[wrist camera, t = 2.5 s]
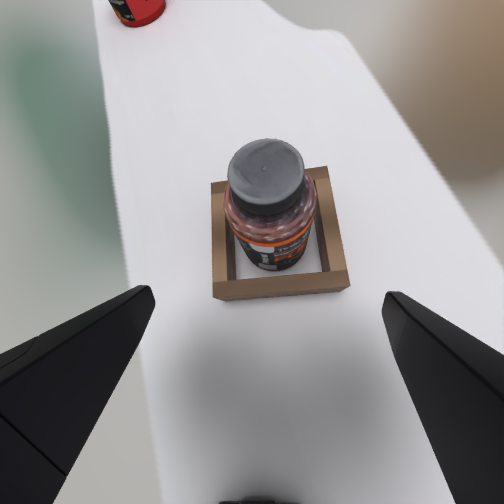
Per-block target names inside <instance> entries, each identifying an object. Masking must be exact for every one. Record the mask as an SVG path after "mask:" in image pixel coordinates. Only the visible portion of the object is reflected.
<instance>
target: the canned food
mask: <svg viewBox="0 0 504 504" xmlns="http://www.w3.org/2000/svg"><path fill="white" fill-rule="evenodd" d="M109 2H110V4H111V6H112V8H113V9H114V11H115V13H116V15H117V16H118V18H119V19H120V20H121V21H122V22H123V23H124V24H125V25H127V26H130V27H139V26H144V25H146V24H149V23H151V22H153V21H154V20H155V19H157V18H158V17H159V16H160V15H161V14H162V12H163V10H164V8H165V0H109Z"/></svg>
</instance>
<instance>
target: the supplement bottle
mask: <svg viewBox="0 0 504 504" xmlns="http://www.w3.org/2000/svg"><path fill="white" fill-rule="evenodd" d="M227 177H228V183H227V186H226V188H225V192H224V198H223V206H224V212H225V215H226V218H227V220H228V222H229V224H230V226H231V228H232V230H233V232H234V234H235V235H236V237H237V239H238V241H239V242H240V244H241V246H242V248H243V249H244V251H245V253H246V255H247V256H248V258H249V259H250V260H251V261H252V262H253V263H254V264H255V265H257V266H258V267H260V268H263V269H265V270H270V271H279V270H283V269H286V268H288V267H290V266H292V265H293V264H295V263H296V262H297V261H298V260H299V259H300V258H301V256H302V254H303V253H304V250H305V248H306V244H307V240H308V237H309V232H310V229H311V225H312V221H313V218H314V214H315V209H316V204H317V193H316V189H315V185H314V182H313V180H312V178H311V177H310V175H309V174H308V173H307V172H306V170H305V169H304V163H303V159H302V157H301V155H300V153H299V152H298V151H297V150H296V149H295V148H294V147H293V146H292V145H290V144H288V143H287V142H284V141H282V140H278V139H268V138H267V139H260V140H256V141H253V142H250V143H248V144H246V145H245V146H243V147H242V148H241V149H239V150H238V151H237V152H236V153H235V155H234V157H233V158H232V159H231V161H230V163H229V166H228V175H227Z"/></svg>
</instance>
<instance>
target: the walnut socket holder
mask: <svg viewBox="0 0 504 504" xmlns="http://www.w3.org/2000/svg"><path fill="white" fill-rule="evenodd" d="M305 170H306V172H307V173H308V174H309V175H310V177H311V178H312V180H313V182H314V185H315V189H316V193H317V204H316V209H315V214H314V221H315V228H316V234H317V240H318V246H319V252H320V259H321V265H322V271H323V272H317V273H306V274H295V275H284V276H274V277H263V278H252V279H242V280H236V267H235V245H234V232H233V230H232V228H231V226H230V224H229V222H228V220H227V218H226V215H225V212H224V206H223V198H224V192H225V188H226V186H227V183H228V181H221V182H214V183H211V213H212V278H213V298H216V299H219V300H223V301H232V300H244V299H256V298H268V297H280V296H292V295H304V294H316V293H328V292H340V291H342V290H344V289H345V288H347V287H349V286H350V281H349V276H348V271H347V266H346V261H345V255H344V250H343V245H342V240H341V235H340V230H339V224H338V219H337V214H336V209H335V204H334V199H333V194H332V188H331V183H330V178H329V173H328V168H327V166H323V167H316V168H309V169H305Z"/></svg>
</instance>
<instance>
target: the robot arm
mask: <svg viewBox="0 0 504 504" xmlns="http://www.w3.org/2000/svg"><path fill="white" fill-rule="evenodd" d="M154 308H155V299H154V296H153V293H152V290H151V288H150V286H148V285H138V286H136V287H134V288H132V289H130V290H128V291H126V292H124V293H122V294H120V295H118V296H116V297H114V298H112V299H110V300H108V301H106V302H104V303H102V304H100V305H98V306H96V307H94V308H92V309H90V310H88V311H86V312H84V313H82V314H80V315H78V316H77V317H74V318H72V319H70V320H68V321H66V322H65V323H62V324H60V325H58V326H56V327H55V328H52V329H50V330H48V331H46V332H44V333H42V334H40V335H39V336H37V337H34V338H32V339H30V340H28V341H26V342H24V343H22V344H21V345H18V346H16V347H14V348H12V349H10V350H8V351H6V352H4V353H2V354H0V504H53V502H54V500H55V499H56V497H57V495H58V493H59V491H60V489H61V487H62V486H63V483H64V482H65V480H66V476H68V474H69V472H70V470H71V468H72V467H73V465H74V463H75V461H76V459H77V458H78V456H79V454H80V452H81V450H82V448H83V446H84V445H85V443H86V441H87V439H88V437H89V435H90V433H91V432H92V430H93V428H94V426H95V424H96V422H97V420H98V418H99V417H100V415H101V413H102V411H103V409H104V407H105V406H106V404H107V402H108V400H109V398H110V396H111V395H112V393H113V391H114V389H115V387H116V385H117V384H118V382H119V380H120V378H121V376H122V374H123V372H124V371H125V369H126V367H127V365H128V363H129V361H130V359H131V358H132V356H133V354H134V352H135V350H136V348H137V347H138V345H139V343H140V341H141V338H142V336H143V334H144V332H145V329H146V327H147V324H148V322H149V320H150V317H151V315H152V313H153V310H154ZM382 317H383V321H384V324H385V327H386V331H387V334H388V338H389V341H390V345H391V348H392V351H393V354H394V357H395V360H396V363H397V365H398V367H399V370H400V372H401V375H402V377H403V379H404V382H405V384H406V386H407V389H408V391H409V394H410V396H411V398H412V401H413V403H414V406H415V408H416V410H417V413H418V415H419V418H420V420H421V422H422V425H423V427H424V429H425V432H426V434H427V437H428V439H429V441H430V444H431V446H432V449H433V451H434V453H435V456H436V458H437V460H438V463H439V465H440V468H441V470H442V472H443V475H444V477H445V480H446V482H447V484H448V487H449V489H450V491H451V494H452V496H453V499H454V501H455V503H456V504H504V355H503V354H501V353H500V352H498V351H496V350H495V349H493V348H491V347H490V346H488V345H487V344H485V343H483V342H482V341H480V340H478V339H477V338H475V337H474V336H472V335H470V334H469V333H467V332H465V331H464V330H462V329H461V328H459V327H457V326H456V325H454V324H452V323H451V322H449V321H448V320H446V319H444V318H443V317H441V316H439V315H438V314H436V313H434V312H433V311H431V310H430V309H428V308H426V307H425V306H423V305H421V304H420V303H418V302H417V301H415V300H413V299H412V298H410V297H408V296H407V295H405V294H404V293H402V292H399V291H388V292H387V293H386V295H385V299H384V303H383V307H382ZM219 504H276V503H275V502H274V501H241V502H240V503H230V502H222V503H219Z"/></svg>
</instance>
